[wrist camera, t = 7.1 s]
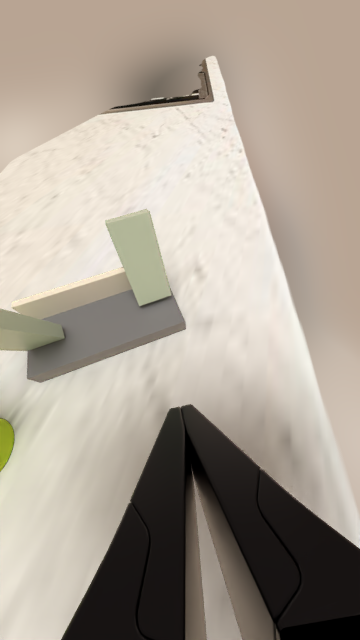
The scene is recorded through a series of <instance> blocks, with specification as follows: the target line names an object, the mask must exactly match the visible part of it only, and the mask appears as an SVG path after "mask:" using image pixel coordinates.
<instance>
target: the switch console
mask: <svg viewBox="0 0 360 640" xmlns="http://www.w3.org/2000/svg"><path fill="white" fill-rule="evenodd" d="M170 291H171V289H170ZM12 308H13V309H14V310H16V311H17V312H19V313H20V314H22V315H26V316H30V317H33V318H37V319H41V320H44V321H48V322H52V323H56V324H59V325H61V326H62V330H63V333H64V337H65V338H64V339H61V340H58V341H55V342H53V343H50V344H47V345H44V346H41V347H38V348H35V349H32V350H30V351H28V363H27V379H30V380H33V381H37V382H43V381H46V380H49V379H51V378H54V377H57V376H60V375H62V374H65V373H68V372H70V371H73V370H76V369H79V368H81V367H84V366H87V365H89V364H92V363H95V362H98V361H100V360H103V359H106V358H108V357H111V356H114V355H117V354H119V353H122V352H125V351H127V350H130V349H133V348H136V347H138V346H141V345H144V344H146V343H149V342H152V341H155V340H157V339H160V338H163V337H165V336H168V335H171V334H174V333H176V332H179V331H182V330H184V329H186V328H185V321H184V318H183V316H182V314H181V312H180V309H179V307H178V305H177V303H176V300H175V298H174V296H173V294H172V291H171V296H168V297H165V298H162V299H159V300H156V301H153V302H150V303H147V304H144V305H141V306H139V304H138V302H137V299H136V297H135V294H134V292H133V290H132V287H131V285H130V282H129V280H128V277H127V275H126V273H125V270H124V268H123V267H121V268H118V269H115V270H112V271H109V272H105V273H102V274H99V275H96V276H93V277H90V278H87V279H83V280H80V281H77V282H74V283H71V284H68V285H64V286H61V287H58V288H55V289H52V290H49V291H45V292H42V293H39V294H36V295H33V296H30V297H26V298H23V299H20V300H17V301H14V302H12Z"/></svg>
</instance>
